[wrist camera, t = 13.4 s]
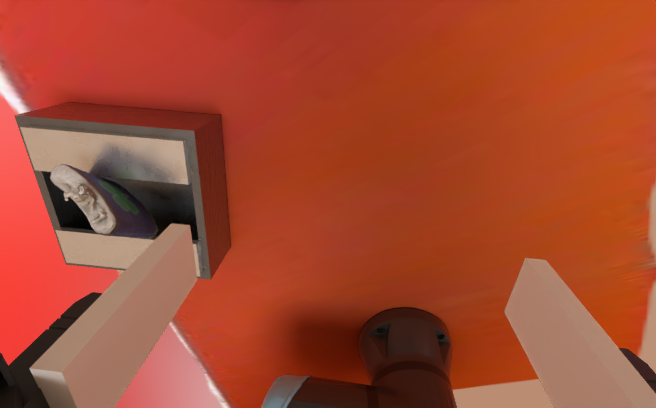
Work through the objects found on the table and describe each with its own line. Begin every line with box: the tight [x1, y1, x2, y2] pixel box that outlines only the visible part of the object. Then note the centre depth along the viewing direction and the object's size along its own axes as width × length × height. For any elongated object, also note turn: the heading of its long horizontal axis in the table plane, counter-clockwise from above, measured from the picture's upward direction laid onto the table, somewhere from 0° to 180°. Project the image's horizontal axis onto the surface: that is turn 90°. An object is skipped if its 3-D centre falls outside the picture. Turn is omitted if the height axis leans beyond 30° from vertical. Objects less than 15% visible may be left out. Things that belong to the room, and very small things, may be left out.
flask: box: [50, 164, 158, 239], centre depth 38 cm, size 9×3×11 cm
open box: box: [15, 102, 231, 279], centre depth 45 cm, size 20×20×9 cm
